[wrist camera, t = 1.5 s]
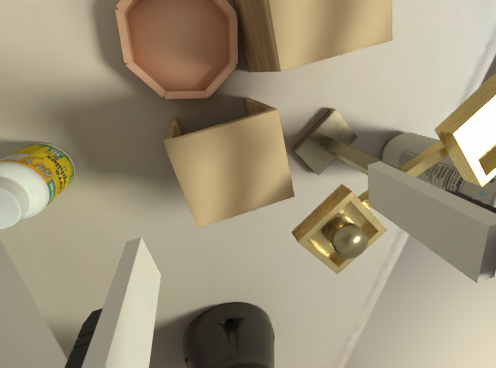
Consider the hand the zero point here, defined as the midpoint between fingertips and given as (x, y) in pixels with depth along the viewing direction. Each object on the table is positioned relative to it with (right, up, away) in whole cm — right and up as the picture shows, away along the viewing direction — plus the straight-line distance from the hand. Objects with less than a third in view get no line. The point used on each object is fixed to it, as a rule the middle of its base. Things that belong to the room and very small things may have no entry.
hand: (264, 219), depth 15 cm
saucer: (-8, +17, +12) cm, 22 cm away
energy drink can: (+21, +7, +23) cm, 32 cm away
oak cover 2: (+3, +19, +13) cm, 24 cm away
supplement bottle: (-23, +4, +14) cm, 27 cm away
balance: (+9, +8, +20) cm, 23 cm away
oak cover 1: (-4, +7, +17) cm, 19 cm away
